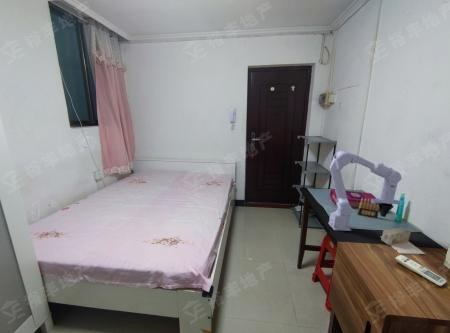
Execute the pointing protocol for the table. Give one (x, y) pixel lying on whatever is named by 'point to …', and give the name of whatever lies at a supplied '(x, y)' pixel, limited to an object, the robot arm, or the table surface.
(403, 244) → the mat
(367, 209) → the ammunition clip
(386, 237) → the skincare box
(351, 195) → the book
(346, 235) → the table surface
